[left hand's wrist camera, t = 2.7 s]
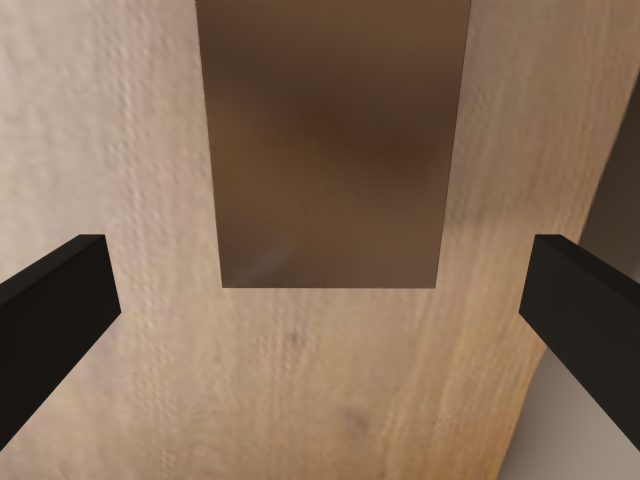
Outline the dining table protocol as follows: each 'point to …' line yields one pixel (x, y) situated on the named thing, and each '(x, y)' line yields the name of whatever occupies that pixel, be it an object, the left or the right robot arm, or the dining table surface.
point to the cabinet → (330, 137)
